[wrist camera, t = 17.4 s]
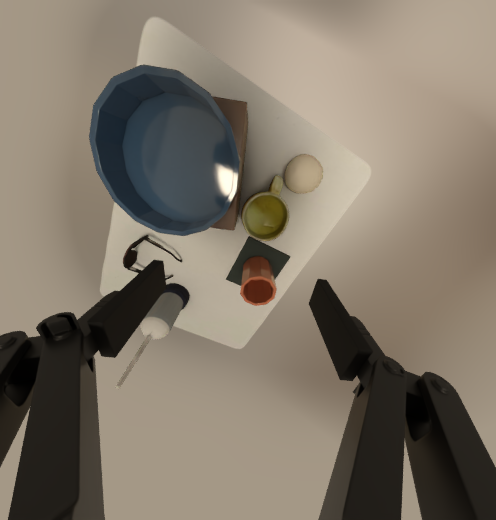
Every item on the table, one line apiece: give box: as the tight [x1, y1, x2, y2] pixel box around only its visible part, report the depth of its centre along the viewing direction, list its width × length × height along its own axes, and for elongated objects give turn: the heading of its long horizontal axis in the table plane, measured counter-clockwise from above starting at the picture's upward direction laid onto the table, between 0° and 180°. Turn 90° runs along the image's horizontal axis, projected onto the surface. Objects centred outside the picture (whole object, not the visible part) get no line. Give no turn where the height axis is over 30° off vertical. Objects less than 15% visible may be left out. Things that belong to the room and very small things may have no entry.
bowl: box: [89, 65, 242, 236], centre depth 25 cm, size 18×18×5 cm
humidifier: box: [116, 283, 189, 388], centre depth 41 cm, size 8×8×25 cm
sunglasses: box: [123, 235, 182, 280], centre depth 45 cm, size 10×12×5 cm
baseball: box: [285, 154, 323, 194], centre depth 34 cm, size 7×7×7 cm
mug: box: [241, 175, 289, 241], centre depth 37 cm, size 12×10×10 cm
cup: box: [240, 256, 276, 306], centre depth 43 cm, size 8×8×10 cm
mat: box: [226, 236, 290, 286], centre depth 47 cm, size 14×12×1 cm
